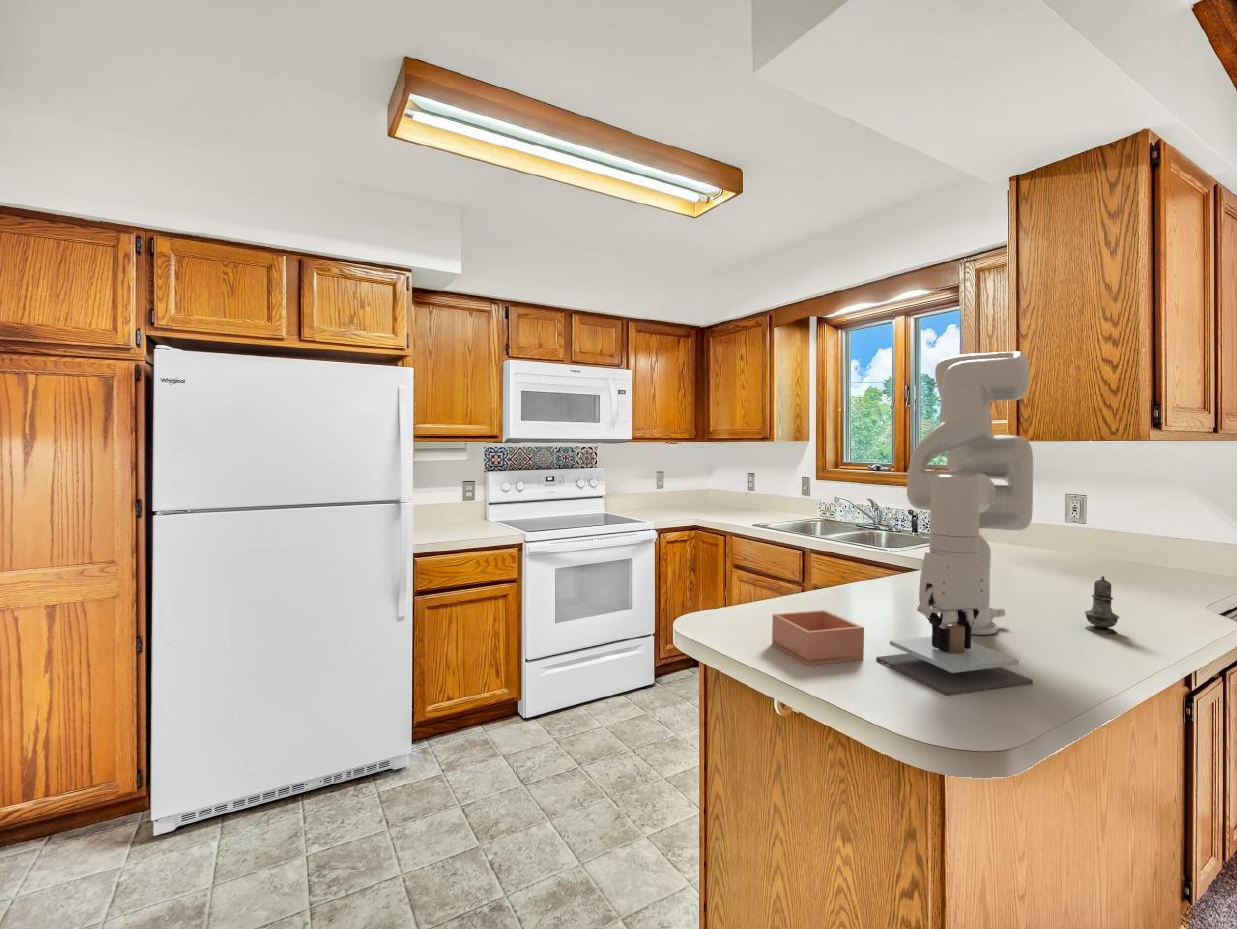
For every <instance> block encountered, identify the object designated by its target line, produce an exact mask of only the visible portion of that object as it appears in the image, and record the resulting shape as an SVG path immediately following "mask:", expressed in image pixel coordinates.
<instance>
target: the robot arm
mask: <svg viewBox="0 0 1237 929" xmlns="http://www.w3.org/2000/svg"><path fill="white" fill-rule="evenodd" d="M934 373H935V374H934V375H935V376H934V377H935V382H936V386H937V392H938V394H939V396H940V409H939V420H938V426H936V427H935V428H934V429H932V430H931V431H930V432H929V433H927V434H926V435H925V436H924V437H923V438H922V439H921V440H920V441H919V442H918V444H917V445H916V447H915V448H914V450H913V452H912V454H911V457H910V460H909V465H908V474H907V475H908V476H907V483H906V498H907V500H908V502H909V504H910V505H911V506H912V507H913V508H915V509H918V510H923V511H924V510H925V511H929V543H928V544H929V545H928V550H926V551H925V553H924V556H923V560H922V563H921V564H922V565H921V570H920V577H919V578H920V579H919V588H918V589H919V592H918V598H919V599H918V601H919V603H918V606H917V609H916V610H917V611H918V612H919V613H920V614H921V615H923V616H924V617H925V618H926V619H927V620H928V623H929V624H930V625H931V631H932V632H931V636H932V646H933V647H935V648H938V649H940V650H942V651H945V652H946V651H949V638H950V630H949V629H948V628H946V627H947V622H954V623H959V624H962V625H964V626H965V649H970V648H971V642H972V635H973V636H974V635H975V636H976V635H977V636H985V635H986V636H987V635H994V634H996V633H997V632H998V625H997V624H996V623H995V622H994V621H993V619H995V618H1003V617H1005V616H1006V611H1005V609H1004V608H1003V607H997V608H993V607H992V606H991V605H990V601H991V600H990V599H991V598H990V597H991V596H990V595H991V568H992V567H991V562H992V561H991V560H992V555H991V554H992V552H991V547H990V545H989V544H988V542H987V540H986V539H985V538H984V537H983V535H981V534H980V529H989V530H1003V531H1022V530H1025V529H1027V528H1029V527H1030V525H1031V523H1032V519H1033V512H1034V509H1033V508H1034V455H1033V449H1032V445H1031V443H1030V441H1028V440H1029V439H1027V438H1025V437H1023V436H1020V435H994V434H993V431H992V430H993V415H992V412H991V410H990V404H991V402H1001V401H1003V402H1005V401H1019V400H1021V399H1023V398H1024V397H1025V396H1026V395H1027V394H1026V393H1027V391H1028V390H1029V389H1028V388H1029V384H1030V363H1029V359H1028V356H1027V355H1026V354H1025V353H1024V352H1023V351H1016V350H1015V351H999V352H985V353H968V354H967V353H966V354H960V355H953V356H949V357H945V358H943V359H941V360H939V362H937V364H936V366H935V371H934ZM945 453H946V466H947V470H926V469H927V467H928V465H929V463H930V462H932V461H933V460H934V459H935V458H937V457H938V456H940V455H942V454H945ZM992 480H1002V481H1004V482H1006V483H1007V484H995V482H993V481H992Z"/></svg>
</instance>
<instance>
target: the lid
mask: <svg viewBox="0 0 1237 929" xmlns="http://www.w3.org/2000/svg"><path fill="white" fill-rule="evenodd" d="M946 628H948V629H949V630H950V638H949V651H946V652H945V651H942V650H940V649H938V648H935V647H933V646H932V635H931V636H930V635H929V636H921V637H911V638H901V639H900V638H899V639H893V640H889V645H890V646H891V647H893V648H896V649H898V650H900V651H902V652H905V653H906V654H908V653H909V654H911V655H913V656H916V657H918V658H920V659H922V660H924V661H927V662H929V663H931V664H933V665H936V666H938V667H940V668H942V669H944V670H947V671H949V672H951V673H956V672H964V671H972V670H980V669H988V668H996V667H1002V668H1004V667H1011V666H1017V665H1018V666H1019V664H1020V659H1018V658H1015V657H1012V656H1009V655H1007V654H1004V653H1001V652H999V651H996V650H994V649H991V648H988V647H986V646H983V645H981V644H978V643H975V642H972V641H971V648H970V649H965V626H964V625H962V624H959V623H954V622H947V627H946Z"/></svg>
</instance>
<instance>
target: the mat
mask: <svg viewBox="0 0 1237 929" xmlns="http://www.w3.org/2000/svg"><path fill="white" fill-rule="evenodd" d="M875 660H876V661H877V662H879V663H881V662H883V663H885V664H887V665H889V666H890V667H889V666H888V667H889V668H891V667H892V669H893V668H894V669H893V670H895V669H896V670H895V671H897V670H898V671H897V672H899V671H900V672H899V673H901V672H902V673H901V674H903V673H904V674H903V675H905V676H907V677H909V678H910V679H913V680H914V681H916V682H919V683H920V684H923V685H925V686H926V687H929V688H931V689H933V690H935V691H936V692H939V693H940V692H941V693H940V694H942V693H943V694H942V695H944V694H945V696H952V695H953V696H954V695H957V694H958V695H959V694H968V693H973V692H982V691H987V690H994V689H995V690H996V689H1003V688H1009V687H1018V686H1023V685H1031V684H1034V682H1033V681H1034V680H1033V679H1032V678H1029V677H1026V676H1024V675H1021V674H1019V673H1017V672H1014V671H1012V670H1010V669H1007V668H1004V667H996V668H988V669H980V670H972V671H964V672H956V673H951V672H949V671H947V670H944V669H942V668H940V667H938V666H936V665H933V664H931V663H929V662H927V661H924V660H922V659H920V658H918V657H916V656H913V655H911V654H909V653H902V654H901V653H900V654H892V655H883V656H876V657H875ZM883 663H882V664H883ZM885 664H884V665H885ZM887 665H886V666H887Z"/></svg>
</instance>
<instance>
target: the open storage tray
mask: <svg viewBox="0 0 1237 929" xmlns="http://www.w3.org/2000/svg"><path fill="white" fill-rule="evenodd" d="M771 628H772V633H771V634H772V635H771V640H772V641H771V644H772V645H773V646H775V647H776V648H778V649H779V650H781V651H783V652H785V653H786V654H788V655H789V656H791V657H793V658H794V659H795V660H797V661H799V662H800V663H802V664H804V665H806V666H809V667H810V666H816V664H818V665H823V663H826V664H830V663H829V662H835V663H844V662H852V661H851V660H853V661H859V660H860V661H861V659H862V660H864V657H865V656H864V653H865V652H864V650H865V649H864V648H865V647H864V646H865V627H864V626H862V625H859V624H857V623H855V622H852V621H850V620H848V619H845V618H843V617H842V616H839V615H837V614H835V613H832V612H829V611H827V610H825V609H823V610H822V609H821V610H820V609H819V610H808V611H798V612H797V611H796V612H785V613H773V614H772V627H771ZM843 661H844V662H843Z"/></svg>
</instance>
